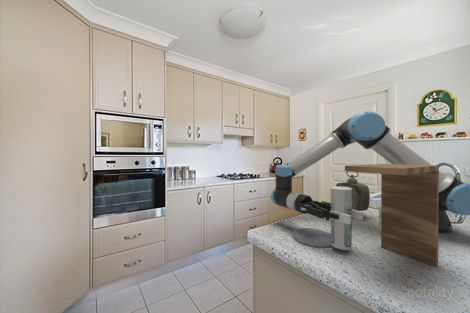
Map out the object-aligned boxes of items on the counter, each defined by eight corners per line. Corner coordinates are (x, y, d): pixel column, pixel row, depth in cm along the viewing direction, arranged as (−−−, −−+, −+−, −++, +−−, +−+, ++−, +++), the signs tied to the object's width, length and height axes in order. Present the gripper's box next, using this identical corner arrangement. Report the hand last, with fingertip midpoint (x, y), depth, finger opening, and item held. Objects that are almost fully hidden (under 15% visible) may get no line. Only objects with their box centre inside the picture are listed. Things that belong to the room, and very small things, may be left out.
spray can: (333, 240, 72) (333, 185, 72) (353, 245, 68) (353, 187, 67) (328, 246, 67) (328, 188, 67) (350, 252, 63) (350, 190, 62)
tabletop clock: (335, 213, 110) (335, 168, 110) (346, 211, 114) (346, 168, 114) (360, 221, 97) (360, 170, 97) (371, 218, 100) (372, 170, 100)
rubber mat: (331, 232, 82) (331, 230, 82) (341, 250, 67) (341, 247, 67) (292, 228, 87) (292, 226, 87) (293, 244, 71) (293, 242, 71)
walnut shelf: (383, 246, 70) (383, 163, 70) (438, 265, 58) (438, 165, 58) (344, 265, 58) (344, 165, 58) (403, 294, 46) (403, 168, 46)
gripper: (315, 208, 87) (371, 224, 68) (283, 215, 78) (338, 235, 58) (315, 191, 87) (372, 202, 67) (283, 196, 78) (338, 210, 58)
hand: (356, 217), depth 63 cm, fingers closed on spray can, 6 cm apart
